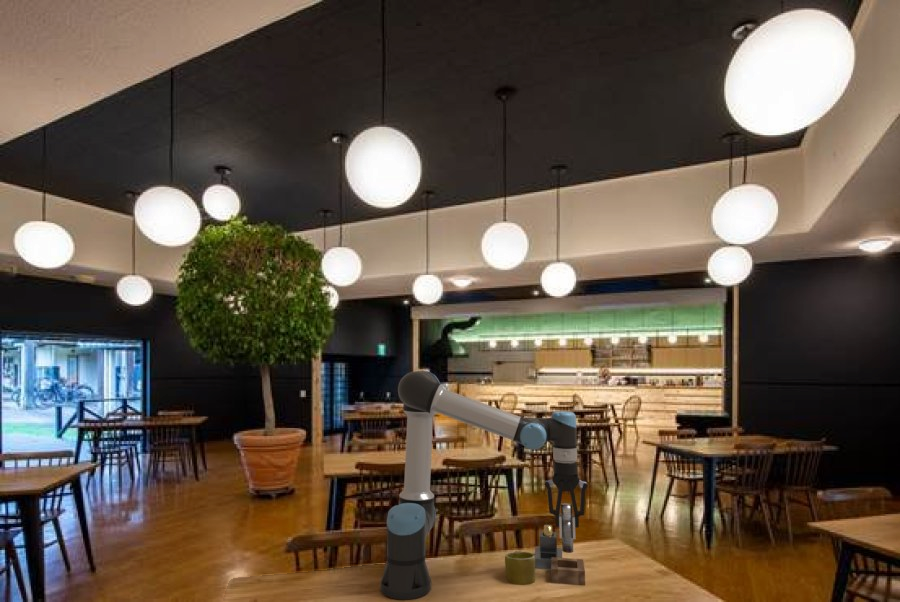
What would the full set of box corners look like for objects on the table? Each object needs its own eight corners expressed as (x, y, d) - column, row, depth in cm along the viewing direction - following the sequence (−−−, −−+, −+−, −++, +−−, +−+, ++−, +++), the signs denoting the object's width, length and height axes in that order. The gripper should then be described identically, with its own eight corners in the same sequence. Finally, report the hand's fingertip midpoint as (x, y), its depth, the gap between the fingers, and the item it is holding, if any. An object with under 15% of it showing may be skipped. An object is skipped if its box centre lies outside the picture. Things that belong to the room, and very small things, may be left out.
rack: (551, 586, 163) (551, 568, 163) (551, 573, 172) (551, 557, 173) (585, 588, 161) (584, 571, 161) (583, 575, 171) (583, 559, 171)
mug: (540, 585, 159) (530, 549, 163) (507, 593, 161) (498, 557, 164) (544, 577, 170) (534, 544, 174) (513, 585, 172) (504, 552, 175)
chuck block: (534, 571, 174) (534, 542, 175) (535, 557, 186) (535, 530, 187) (562, 573, 172) (562, 544, 173) (562, 559, 184) (561, 532, 185)
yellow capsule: (544, 548, 182) (543, 527, 183) (544, 545, 185) (544, 524, 185) (552, 549, 181) (552, 527, 182) (552, 546, 184) (552, 525, 185)
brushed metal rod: (562, 552, 166) (561, 505, 168) (562, 548, 170) (561, 503, 171) (573, 553, 166) (572, 506, 167) (573, 549, 169) (571, 503, 171)
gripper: (538, 462, 169) (540, 539, 166) (592, 463, 165) (595, 543, 163) (539, 458, 176) (541, 532, 173) (591, 459, 173) (593, 535, 170)
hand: (567, 537), depth 168 cm, fingers closed on brushed metal rod, 3 cm apart
